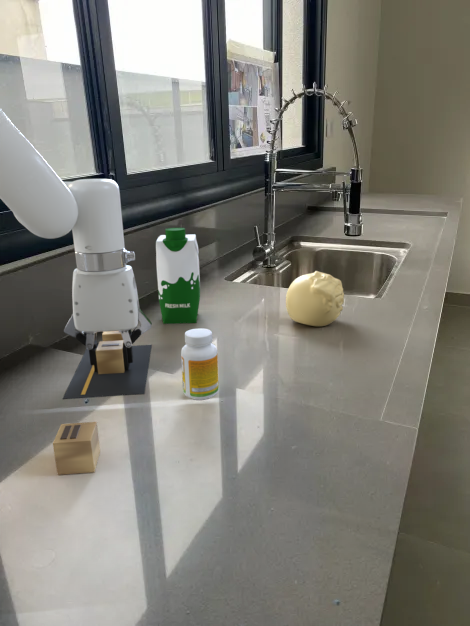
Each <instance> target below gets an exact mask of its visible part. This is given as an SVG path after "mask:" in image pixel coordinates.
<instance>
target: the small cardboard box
mask: <svg viewBox="0 0 470 626" xmlns="http://www.w3.org/2000/svg"><path fill="white" fill-rule="evenodd" d="M101 334H102V336H101V337H102V341H117V340H123V338H122V335H121V332H120V331H104V332H102V333H101Z"/></svg>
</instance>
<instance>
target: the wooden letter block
mask: <svg viewBox="0 0 470 626" xmlns="http://www.w3.org/2000/svg"><path fill="white" fill-rule="evenodd" d="M123 343H124V341H123V340H117V341H103V340H100V341H99V342H98V347H97V349H96V358H97V367H98V374H112V373H124V372H125V369H124V359H123Z"/></svg>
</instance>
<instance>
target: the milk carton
mask: <svg viewBox="0 0 470 626" xmlns="http://www.w3.org/2000/svg"><path fill="white" fill-rule="evenodd" d="M164 230H165V231H164V233H165V234H160V235H159V236H157V239H156V241H155V253H156V254H155V255H156V256H155V262H156V265H155V266H156V280H157V292H158V293H157V294H158V302H159V308H160V314H161V319H162V324H163V325H167V324H168V325H174V324H176V325H179V324H197V321H198V314H199V308H200V302H201V301H200V300H201V277H200V276H201V275H200V274H201V273H200V259H199V254H200V253H199V251H200V250H199V245H198V241H197V235H196V234H195V233H194V234H186V228H185V227H168V228H165V229H164Z"/></svg>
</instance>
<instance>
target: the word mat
mask: <svg viewBox="0 0 470 626" xmlns="http://www.w3.org/2000/svg"><path fill="white" fill-rule="evenodd" d="M152 346H153V345H152V344H141V345H140V344H138V345H132V350H133V363H130V366H129V370H125V372H124V373H112V374H98V372H95V370H94V365H91V364H90V356H89V350H88V349H87V348H86V349H85V351H84V353H83V355H82V357H81V359H80V362H79V363H78V366H77V368H76V370H75V372H74V374H73V376H72V378H71V380H70V382H69V385H68V387H67V389H66V391H65V392H64V395H63V397H62V400H72V399H73V400H75V399H91V398H106V397H107V398H108V397H120V396H139V395H145V393H146V385H147V379H148V372H149V366H150V358H151V354H152Z"/></svg>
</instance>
